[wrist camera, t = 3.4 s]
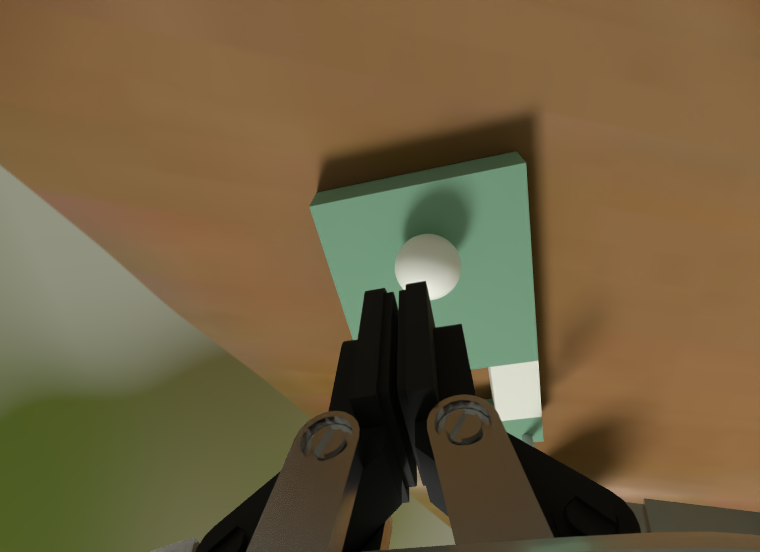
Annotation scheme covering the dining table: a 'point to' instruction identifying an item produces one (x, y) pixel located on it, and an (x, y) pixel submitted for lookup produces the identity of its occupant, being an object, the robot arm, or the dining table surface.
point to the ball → (429, 264)
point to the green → (478, 265)
